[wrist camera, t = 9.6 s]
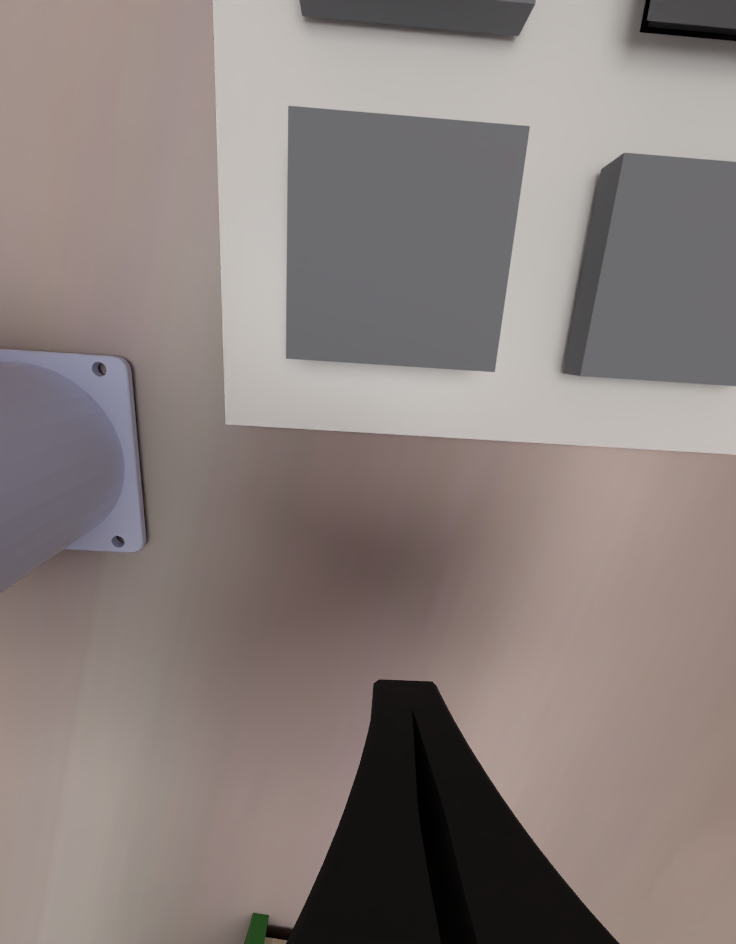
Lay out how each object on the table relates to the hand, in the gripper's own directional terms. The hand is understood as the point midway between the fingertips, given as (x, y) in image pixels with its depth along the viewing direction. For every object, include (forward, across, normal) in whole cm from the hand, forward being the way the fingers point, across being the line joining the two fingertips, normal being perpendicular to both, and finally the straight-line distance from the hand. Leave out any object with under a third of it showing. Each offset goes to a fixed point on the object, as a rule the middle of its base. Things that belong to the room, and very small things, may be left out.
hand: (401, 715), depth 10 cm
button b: (+9, -9, -11) cm, 16 cm away
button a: (+8, 0, -10) cm, 13 cm away
